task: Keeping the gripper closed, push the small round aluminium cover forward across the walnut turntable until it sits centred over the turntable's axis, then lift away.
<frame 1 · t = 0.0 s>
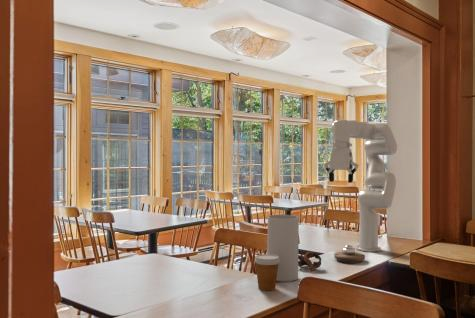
hand: (340, 182, 219), 37 cm above the table, tool pointing down, fingers open, 9 cm apart
brown ornate stand: (307, 269, 203), on the table
cover: (348, 253, 222), point 3 cm above the table, touching turntable
cylinder vase: (282, 278, 187), on the table
disposable coffee cup: (266, 289, 173), on the table
turntable: (349, 257, 219), point 2 cm above the table, hinge at 0.0°, touching cover
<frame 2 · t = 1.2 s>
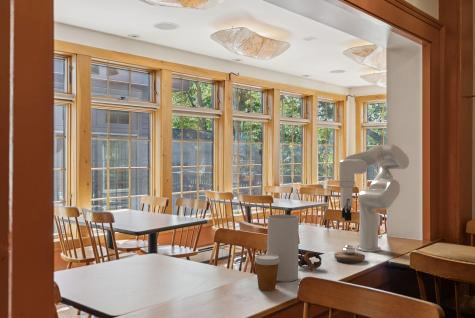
hand: (346, 219, 230), 18 cm above the table, tool pointing down, fingers open, 8 cm apart
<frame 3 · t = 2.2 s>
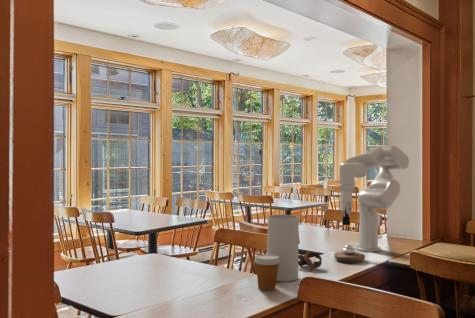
hand: (346, 224, 230), 15 cm above the table, tool pointing down, fingers closed
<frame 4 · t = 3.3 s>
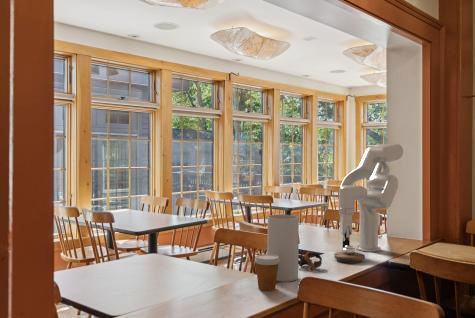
hand: (346, 248, 230), 4 cm above the table, tool pointing down, fingers closed
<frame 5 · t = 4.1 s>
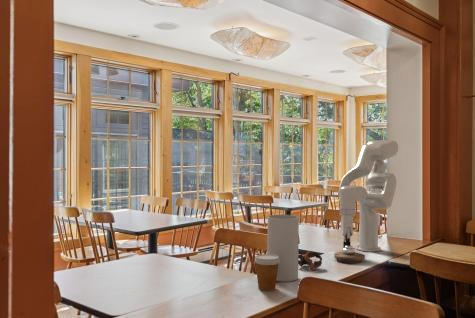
hand: (346, 249, 227), 4 cm above the table, tool pointing down, fingers closed
cover: (348, 253, 222), point 3 cm above the table, touching gripper, turntable
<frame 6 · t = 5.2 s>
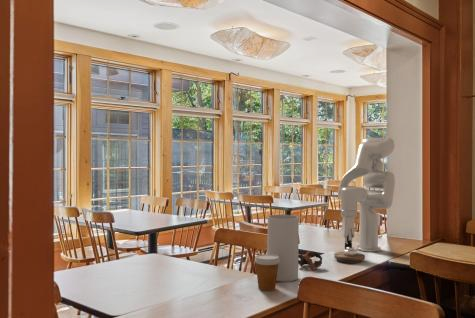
hand: (348, 251, 223), 4 cm above the table, tool pointing down, fingers closed
cover: (350, 255, 218), point 3 cm above the table, touching gripper, turntable
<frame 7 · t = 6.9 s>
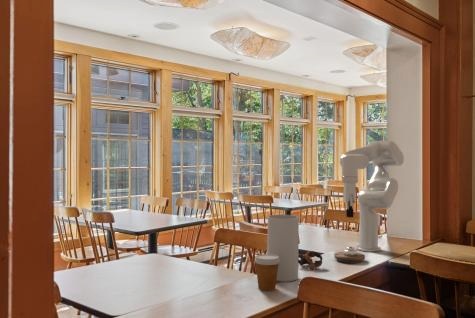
hand: (349, 217, 227), 20 cm above the table, tool pointing down, fingers closed
cover: (350, 255, 218), point 3 cm above the table, touching turntable
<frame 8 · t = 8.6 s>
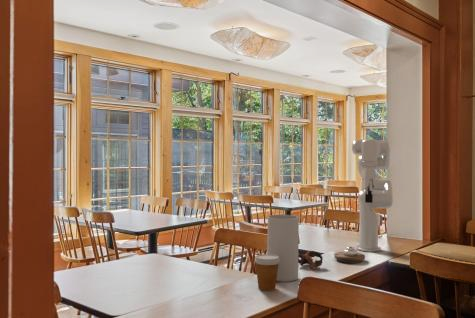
hand: (368, 202, 225), 27 cm above the table, tool pointing down, fingers closed
at the end: cover 0.8 cm from the turntable (horizontally); cover tilted 0°; cover touching turntable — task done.
